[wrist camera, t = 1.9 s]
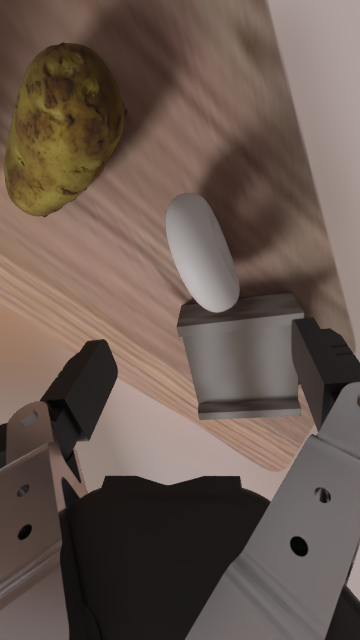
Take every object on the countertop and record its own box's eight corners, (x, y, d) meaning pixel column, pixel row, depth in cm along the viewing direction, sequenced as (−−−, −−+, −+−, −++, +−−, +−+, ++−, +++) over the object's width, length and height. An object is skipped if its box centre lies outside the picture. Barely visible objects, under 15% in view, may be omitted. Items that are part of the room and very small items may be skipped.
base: (201, 393, 38) (199, 419, 34) (181, 305, 31) (176, 327, 27) (291, 387, 35) (300, 415, 32) (292, 291, 28) (303, 312, 25)
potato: (-10, 123, 24) (-100, 110, 17) (119, 47, 20) (69, -8, 13) (45, 217, 27) (-11, 238, 21) (161, 167, 24) (139, 173, 17)
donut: (168, 197, 25) (144, 218, 17) (202, 178, 24) (195, 192, 15) (210, 287, 29) (208, 341, 21) (241, 275, 28) (251, 327, 20)
